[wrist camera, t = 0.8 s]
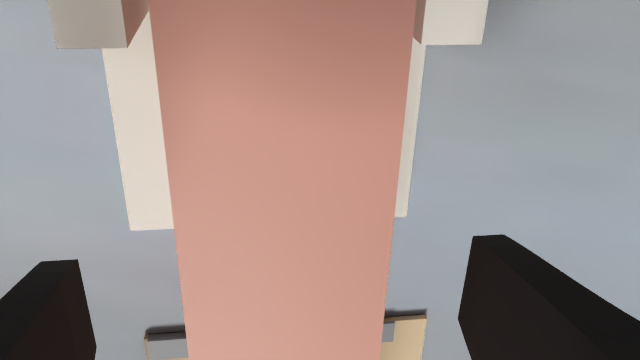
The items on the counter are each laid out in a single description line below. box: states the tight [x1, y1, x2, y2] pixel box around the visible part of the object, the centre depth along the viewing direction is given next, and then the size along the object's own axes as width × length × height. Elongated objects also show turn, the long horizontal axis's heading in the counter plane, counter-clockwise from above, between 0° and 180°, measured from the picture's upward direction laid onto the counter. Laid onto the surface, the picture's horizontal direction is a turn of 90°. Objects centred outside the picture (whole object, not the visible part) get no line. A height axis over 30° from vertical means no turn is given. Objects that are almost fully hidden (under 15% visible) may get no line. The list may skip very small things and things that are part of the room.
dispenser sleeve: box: [47, 0, 489, 360], centre depth 13 cm, size 8×19×4 cm, turn 178°
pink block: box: [148, 0, 417, 360], centre depth 13 cm, size 4×11×5 cm, turn 178°
